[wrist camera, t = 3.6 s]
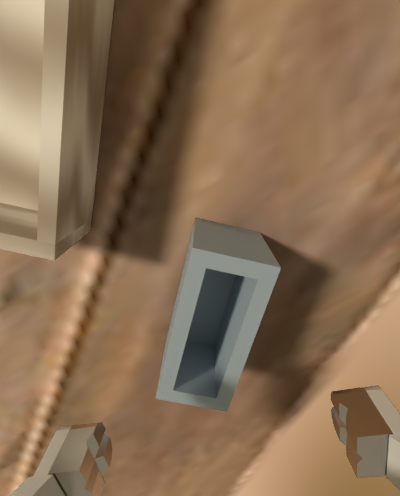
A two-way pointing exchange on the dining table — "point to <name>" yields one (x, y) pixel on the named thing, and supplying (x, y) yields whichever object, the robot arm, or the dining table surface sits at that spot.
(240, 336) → the box
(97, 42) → the beige shallow tray
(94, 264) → the dining table surface
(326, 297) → the dining table surface
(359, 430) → the robot arm
